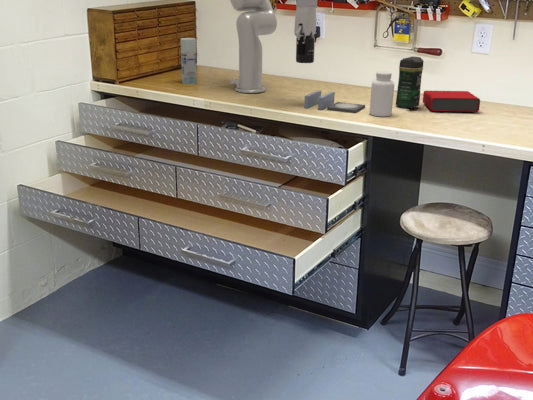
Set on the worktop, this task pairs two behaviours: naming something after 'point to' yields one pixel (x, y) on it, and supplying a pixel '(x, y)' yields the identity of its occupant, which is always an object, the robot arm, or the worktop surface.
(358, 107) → the mat
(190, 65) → the tall grey product box
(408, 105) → the coffee jar
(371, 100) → the pill bottle
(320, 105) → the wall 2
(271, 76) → the worktop surface
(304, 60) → the supplement bottle
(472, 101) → the red device housing
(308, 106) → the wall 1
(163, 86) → the worktop surface
